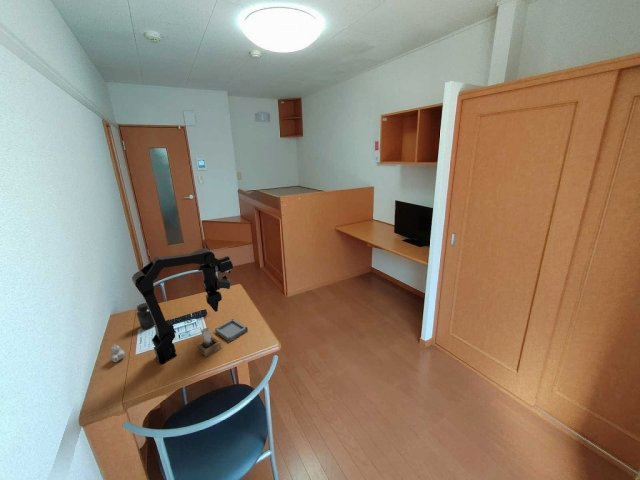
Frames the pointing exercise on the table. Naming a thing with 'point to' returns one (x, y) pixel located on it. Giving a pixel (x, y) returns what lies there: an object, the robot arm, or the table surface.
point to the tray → (231, 330)
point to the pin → (207, 337)
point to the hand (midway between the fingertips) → (215, 306)
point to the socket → (211, 349)
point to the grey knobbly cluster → (116, 353)
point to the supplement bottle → (144, 316)
